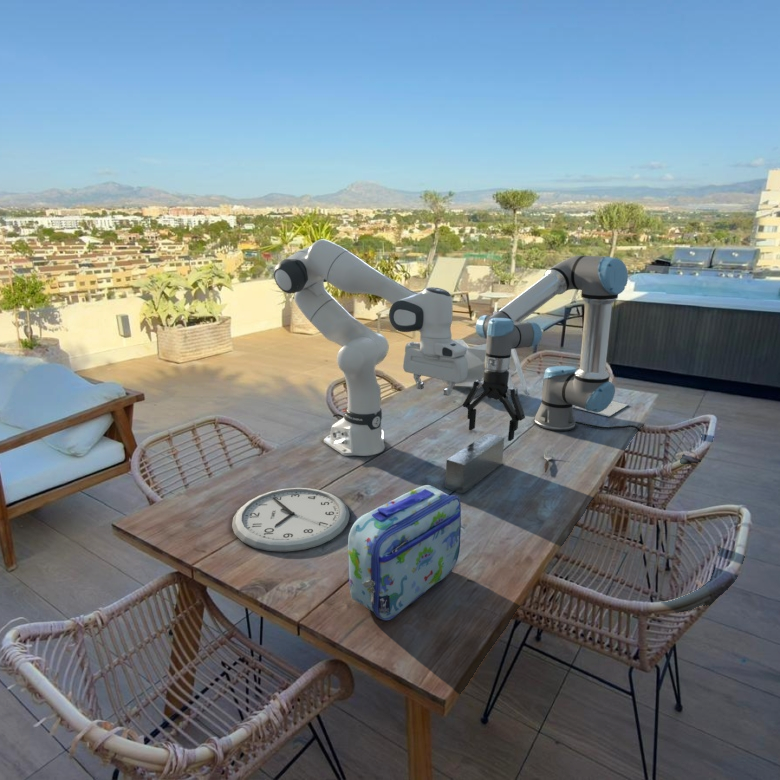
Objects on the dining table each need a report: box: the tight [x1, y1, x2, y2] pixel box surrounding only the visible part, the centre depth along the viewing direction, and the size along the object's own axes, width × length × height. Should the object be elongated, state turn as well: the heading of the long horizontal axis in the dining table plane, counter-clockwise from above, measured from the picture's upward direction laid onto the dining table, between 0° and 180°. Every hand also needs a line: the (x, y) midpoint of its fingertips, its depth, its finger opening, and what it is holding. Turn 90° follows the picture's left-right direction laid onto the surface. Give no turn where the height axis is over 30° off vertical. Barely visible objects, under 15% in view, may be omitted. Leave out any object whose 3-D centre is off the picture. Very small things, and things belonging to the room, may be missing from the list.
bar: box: [444, 432, 505, 495], centre depth 160 cm, size 26×6×9 cm, turn 143°
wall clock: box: [231, 487, 351, 553], centre depth 136 cm, size 30×2×30 cm
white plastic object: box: [441, 310, 531, 397], centre depth 245 cm, size 37×45×31 cm
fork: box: [543, 448, 554, 473], centre depth 170 cm, size 3×16×2 cm, turn 160°
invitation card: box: [573, 400, 629, 418], centre depth 226 cm, size 21×1×15 cm
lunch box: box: [347, 484, 462, 621], centre depth 107 cm, size 26×11×21 cm, turn 134°
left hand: (433, 391), depth 153 cm, fingers open, 8 cm apart
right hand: (490, 434), depth 166 cm, fingers open, 13 cm apart
